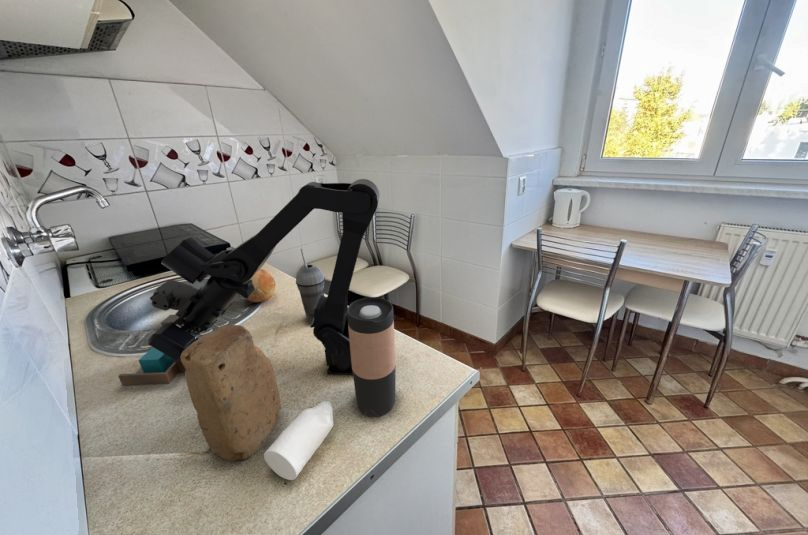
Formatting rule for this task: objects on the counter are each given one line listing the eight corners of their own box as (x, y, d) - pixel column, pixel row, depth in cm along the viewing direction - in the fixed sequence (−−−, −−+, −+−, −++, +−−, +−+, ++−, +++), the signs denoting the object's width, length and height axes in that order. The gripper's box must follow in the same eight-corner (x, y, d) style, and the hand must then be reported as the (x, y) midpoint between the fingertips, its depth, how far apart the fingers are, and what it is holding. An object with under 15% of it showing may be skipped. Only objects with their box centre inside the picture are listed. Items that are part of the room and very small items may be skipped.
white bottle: (345, 421, 56) (342, 397, 53) (298, 486, 46) (292, 459, 43) (317, 410, 58) (313, 386, 56) (267, 470, 48) (259, 443, 46)
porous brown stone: (238, 473, 47) (203, 365, 40) (205, 454, 50) (166, 350, 43) (291, 418, 56) (270, 321, 49) (260, 405, 59) (236, 311, 52)
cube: (176, 362, 70) (171, 347, 68) (164, 375, 66) (158, 359, 65) (157, 362, 70) (151, 347, 68) (144, 375, 66) (138, 360, 65)
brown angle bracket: (207, 356, 73) (191, 306, 68) (183, 386, 64) (163, 331, 59) (154, 358, 72) (135, 308, 67) (123, 388, 64) (98, 333, 59)
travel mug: (363, 384, 64) (355, 295, 56) (400, 389, 62) (398, 298, 55) (349, 414, 57) (338, 318, 49) (391, 421, 56) (387, 322, 48)
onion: (244, 312, 91) (237, 279, 87) (241, 297, 99) (234, 267, 95) (280, 303, 95) (274, 272, 91) (275, 290, 103) (269, 261, 99)
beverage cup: (322, 327, 83) (313, 255, 75) (296, 325, 84) (284, 253, 76) (334, 313, 89) (326, 245, 81) (309, 311, 90) (299, 243, 83)
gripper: (203, 252, 68) (166, 300, 72) (140, 293, 51) (96, 352, 55) (249, 284, 71) (211, 328, 75) (204, 333, 54) (158, 386, 58)
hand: (174, 345), depth 66 cm, fingers closed on brown angle bracket, 3 cm apart
